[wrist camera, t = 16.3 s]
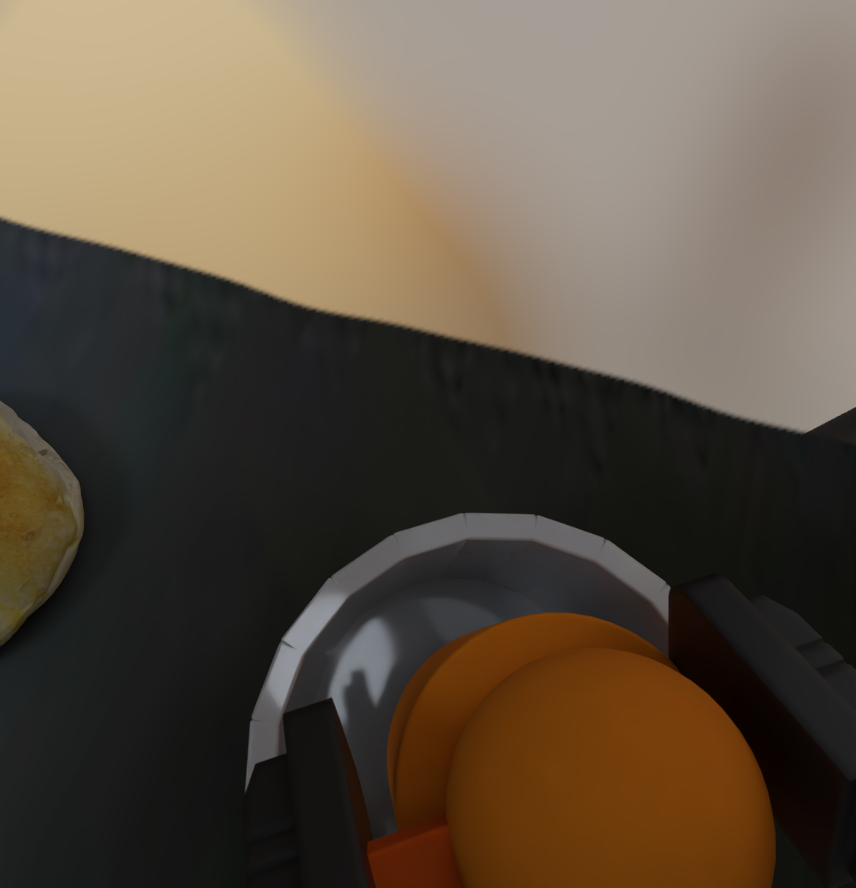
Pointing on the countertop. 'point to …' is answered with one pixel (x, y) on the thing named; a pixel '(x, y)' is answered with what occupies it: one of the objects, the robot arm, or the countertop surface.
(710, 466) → the countertop surface
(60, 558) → the bread roll
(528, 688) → the duck
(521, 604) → the pot
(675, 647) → the robot arm
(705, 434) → the countertop surface
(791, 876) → the countertop surface
